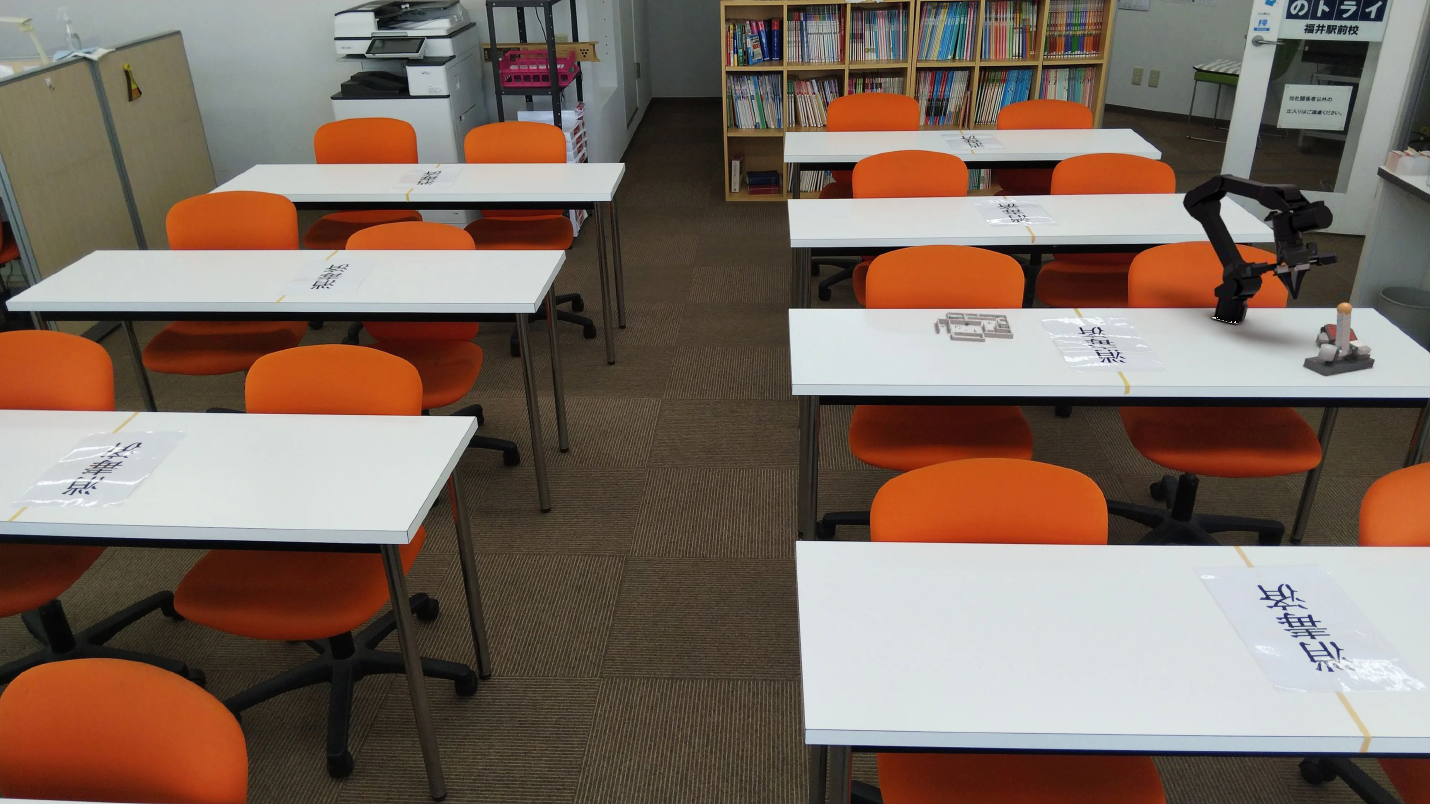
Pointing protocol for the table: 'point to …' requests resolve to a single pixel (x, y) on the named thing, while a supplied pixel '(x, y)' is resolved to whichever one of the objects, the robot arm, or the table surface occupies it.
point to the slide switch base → (1340, 363)
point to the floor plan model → (1001, 328)
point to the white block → (1361, 347)
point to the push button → (1327, 352)
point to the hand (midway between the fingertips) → (1294, 299)
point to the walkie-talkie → (1331, 335)
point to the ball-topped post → (1343, 329)
